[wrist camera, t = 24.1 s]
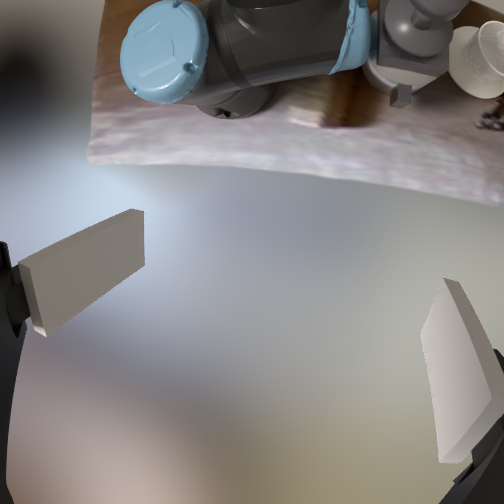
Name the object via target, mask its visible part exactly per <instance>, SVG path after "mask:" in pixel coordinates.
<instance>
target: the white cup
mask: <svg viewBox="0 0 504 504" xmlns="http://www.w3.org/2000/svg"><path fill="white" fill-rule="evenodd" d="M461 61H462V64H463V66H464V69H465V70H466V71H467V72H468V73H469V74H470V76H471V77H473V78H475V79H477V80H478V81H484V82H489V81H498V80H504V23H502V22H498V21H489V22H486V23H485V24H483V25H482V26H481V27H480V28H479V29H478V30H477V31H476V32H475V33H474V34H473V35H472V36H471V37H470V39H469V40H468V41H467V42H466V43H465V44H464V46H463V48H462V50H461Z"/></svg>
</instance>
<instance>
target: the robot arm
mask: <svg viewBox="0 0 504 504" xmlns="http://www.w3.org/2000/svg"><path fill="white" fill-rule="evenodd" d="M370 43H371V24H370V14H369V9H368V7H367V0H206V1H203V2H200V3H197V4H192V3H190V2H188V1H183V0H163V1H160V2H157V3H155V4H153V5H151V6H149V7H148V8H146V9H145V10H144V11H143V12H141V13H140V14H139V15H138V16H137V17H136V19H135V20H134V21H133V22H132V24H131V25H130V27H129V29H128V34H127V36H126V37H125V39H124V40H123V44H122V48H121V55H120V64H121V71H122V75H123V77H124V80H125V82H126V84H127V85H128V87H129V88H130V89H131V91H132V92H134V93H135V94H136V95H138V96H139V97H140V98H143V99H145V100H148V101H153V102H155V103H159V104H186V105H196V106H197V107H198V108H199V109H200V110H201V111H203V112H204V113H206V114H208V115H210V116H213V117H216V118H220V119H240V118H245V117H248V116H250V115H252V114H254V113H256V112H258V111H259V110H260V109H262V108H263V107H264V106H265V105H266V104H267V103H268V102H269V100H270V99H271V98H272V96H273V94H274V92H275V90H276V88H277V85H278V82H279V81H284V80H290V79H295V78H301V77H308V76H314V75H321V74H327V75H331V74H333V73H335V72H337V71H343V70H349V69H355V68H357V67H359V66H361V65H362V64H364V63H365V61H366V60H367V58H368V55H369V51H370ZM144 260H145V258H144V211H140V210H135V209H129V210H127V211H124V212H122V213H120V214H117V215H115V216H113V217H110V218H108V219H106V220H104V221H102V222H99V223H97V224H95V225H93V226H91V227H88V228H86V229H84V230H82V231H79V232H77V233H75V234H73V235H71V236H69V237H67V238H65V239H63V240H61V241H58V242H56V243H54V244H52V245H50V246H48V247H46V248H44V249H42V250H40V251H38V252H36V253H34V254H32V255H30V256H28V257H27V258H25V259H23V260H21V261H19V262H18V265H16V266H14V267H11V262H10V257H9V251H8V246H7V244H6V243H5V242H2V241H0V504H14V502H13V499H12V496H11V494H10V492H9V490H8V488H7V484H6V461H7V444H8V432H9V423H10V414H11V407H12V399H13V393H14V387H15V381H16V376H17V370H18V365H19V361H20V355H21V351H22V347H23V342H24V338H25V334H26V330H27V325H26V322H25V320H26V319H27V318H29V317H30V316H31V319H32V323H33V326H34V329H35V330H36V331H37V332H39V333H41V334H42V335H44V336H46V337H48V336H49V335H51V334H52V333H53V332H54V331H56V330H57V329H58V328H59V327H61V326H62V325H64V324H65V323H66V322H68V321H69V320H70V319H72V318H73V317H74V316H76V315H77V314H78V313H80V312H81V311H82V310H84V309H85V308H86V307H88V306H89V305H90V304H92V303H93V302H94V301H96V300H97V299H98V298H100V297H101V296H102V295H104V294H105V293H107V292H108V291H109V290H111V289H112V288H114V287H115V286H116V285H118V284H119V283H121V282H122V281H123V280H125V279H126V278H127V277H129V276H130V275H132V274H133V273H134V272H136V271H137V270H139V269H140V268H142V267H143V266H144V265H145V261H144ZM420 336H421V341H422V345H423V350H424V355H425V360H426V365H427V371H428V376H429V382H430V388H431V395H432V401H433V408H434V416H435V424H436V433H437V443H438V453H439V462H440V463H461V462H462V461H463V460H464V459H465V458H466V456H468V454H469V453H470V452H472V459H473V462H472V463H471V464H470V465H469V466H468V467H467V468H466V469H465V470H464V471H463V472H462V473H461V474H460V475H459V476H458V477H457V478H455V479H454V480H453V482H454V483H455V484H454V486H453V487H452V488H451V489H450V491H449V492H448V493H447V494H446V495H445V497H444V498H443V499H442V500H441V502H440V503H439V504H504V357H503V356H502V355H501V354H500V352H499V351H498V350H497V349H493V348H492V346H491V344H490V341H489V340H488V337H487V335H486V333H485V331H484V329H483V327H482V325H481V323H480V321H479V319H478V317H477V315H476V313H475V311H474V309H473V307H472V305H471V304H470V302H469V300H468V298H467V296H466V294H465V292H464V290H463V289H462V287H461V285H460V283H459V282H457V281H453V280H449V279H445V278H443V279H442V282H441V285H440V287H439V290H438V293H437V295H436V298H435V300H434V303H433V305H432V308H431V310H430V313H429V315H428V318H427V320H426V322H425V324H424V327H423V329H422V331H421V333H420Z"/></svg>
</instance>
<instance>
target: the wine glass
mask: <svg viewBox="0 0 504 504" xmlns="http://www.w3.org/2000/svg"><path fill="white" fill-rule="evenodd" d="M469 1H470V0H390V1H389V3H388V5H387V7H386V11H385V15H384V25H385V29H386V31H387V33H388V35H389V37H390V38H391V40H392V41H393V42H394V43H395V44H396V45H397V46H398V47H399V48H400V49H402V50H403V51H405V52H407V53H409V54H411V55H414V56H418V57H432V56H435V55H438V54H439V53H441V52H442V51H443V50H444V49H446V48H447V47H448V46H449V44H450V43H451V41H452V38H453V32H454V30H453V24H452V21H451V20H452V19H454V18H455V17H456V16H457V15H458V14H459V13H460V12H461V10H462V9H463V8H464V7H465V6H466V5H467V4H468V3H469Z"/></svg>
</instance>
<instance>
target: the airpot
mask: <svg viewBox="0 0 504 504" xmlns="http://www.w3.org/2000/svg"><path fill="white" fill-rule="evenodd" d="M389 1H390V0H379V1H378V8H377V10H376V11H375V12H374V13H373V14H372V15H371V16H370V24H371V43H370V51H369V55H368V58H367V60H366V61H365V63H364V64H362V70H363V73H364V75H365V77H366V79H367V80H368V82H369V83H370V84H371V85H372V86H373V87H374V88H375V89H376V90H378V91H379V92H381V93H383V94H386V95H389V96H390V106H391V107H397V108H403V107H405V106H407V105H409V104H411V95H412V93H414V92H415V91H417V90H419V89H420V88H422V87H423V86H425V85H427V84H428V83H430V82H431V81H433V80H435V79H436V78H438V77H439V76H440V75H442V74H444V73H445V72H447V71H449V56H450V50H449V46H448V47H447V48H446V49H444V50H443V51H442V52H441V53H439V54H438V55H435V56H432V57H418V56H414V55H411V54H409V53H407V52H405V51H403V50H402V49H400V48H399V47H398V46H397V45H396V44H395V43H394V42H393V41H392V40H391V38H390V37H389V35H388V33H387V31H386V29H385V25H384V15H385V11H386V7H387V5H388V3H389Z"/></svg>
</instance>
